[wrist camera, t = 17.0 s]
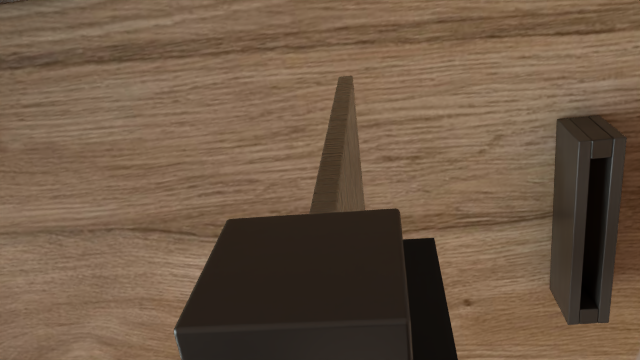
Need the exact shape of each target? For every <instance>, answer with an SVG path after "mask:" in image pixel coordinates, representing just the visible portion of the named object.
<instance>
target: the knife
mask: <svg viewBox="0 0 640 360" xmlns="http://www.w3.org/2000/svg"><path fill="white" fill-rule="evenodd" d="M174 335H175V339H176V342H177V346H178V349H179V353H180V357H181V360H413V351H412V335H411V320H410V310H409V299H408V289H407V279H406V269H405V259H404V249H403V238H402V228H401V218H400V211H399V210H398V209H380V210H365V204H364V193H363V182H362V171H361V160H360V150H359V139H358V128H357V117H356V106H355V96H354V85H353V77H352V76H344V77H339V78H338V83H337V87H336V92H335V96H334V101H333V106H332V110H331V115H330V120H329V124H328V129H327V134H326V138H325V143H324V148H323V152H322V157H321V161H320V166H319V171H318V175H317V180H316V185H315V189H314V194H313V199H312V203H311V208H310V212H309V214H301V215H285V216H270V217H254V218H238V219H229V220H227V221H226V224H225V226H224V228H223V230H222V232H221V234H220V236H219V238H218V240H217V242H216V244H215V246H214V248H213V250H212V252H211V254H210V256H209V258H208V260H207V262H206V264H205V267H204V269H203V271H202V273H201V275H200V277H199V279H198V281H197V283H196V285H195V287H194V289H193V291H192V293H191V295H190V297H189V299H188V301H187V303H186V305H185V307H184V310H183V312H182V314H181V316H180V318H179V320H178V322H177V324H176V326H175V328H174Z"/></svg>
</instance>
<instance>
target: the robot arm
mask: <svg viewBox="0 0 640 360" xmlns="http://www.w3.org/2000/svg"><path fill="white" fill-rule="evenodd" d="M403 249H404V259H405V269H406V279H407V289H408V299H409V310H410V320H411V335H412V351H413V360H458V358H457V353H456V348H455V343H454V338H453V332H452V327H451V322H450V317H449V312H448V307H447V302H446V297H445V291H444V286H443V281H442V276H441V271H440V266H439V261H438V256H437V251H436V245H435V240H434V238H422V239H404V240H403Z"/></svg>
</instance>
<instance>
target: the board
mask: <svg viewBox="0 0 640 360" xmlns="http://www.w3.org/2000/svg"><path fill="white" fill-rule="evenodd" d="M20 1H27V0H0V4H5V3H13V2H20Z"/></svg>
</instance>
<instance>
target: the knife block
mask: <svg viewBox="0 0 640 360" xmlns="http://www.w3.org/2000/svg"><path fill="white" fill-rule="evenodd" d="M626 139H627V138H626V137H625V136H624V135H623V134H622V133H620V132H619V131H618V130H617V129H616V128H614V127H613V126H612V125H611V124H609V123H608V122H607V121H606V120H604V119H603V118H602V117H601V116H599V115H597V116H589V117H578V118H570V119H568V118H565V119H557V132H556V155H555V178H554V201H553V224H552V247H551V270H550V290H551V292H552V294H553V296H554V298H555V300H556V302H557V304H558V306H559V308H560V310H561V312H562V314H563V316H564V318H565V320H566V322H567V324H568V325H574V324H589V323H597V322H598V323H608V322H609V315H610V304H611V294H612V284H613V273H614V263H615V253H616V242H617V232H618V222H619V211H620V201H621V191H622V180H623V170H624V160H625V149H626Z"/></svg>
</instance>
